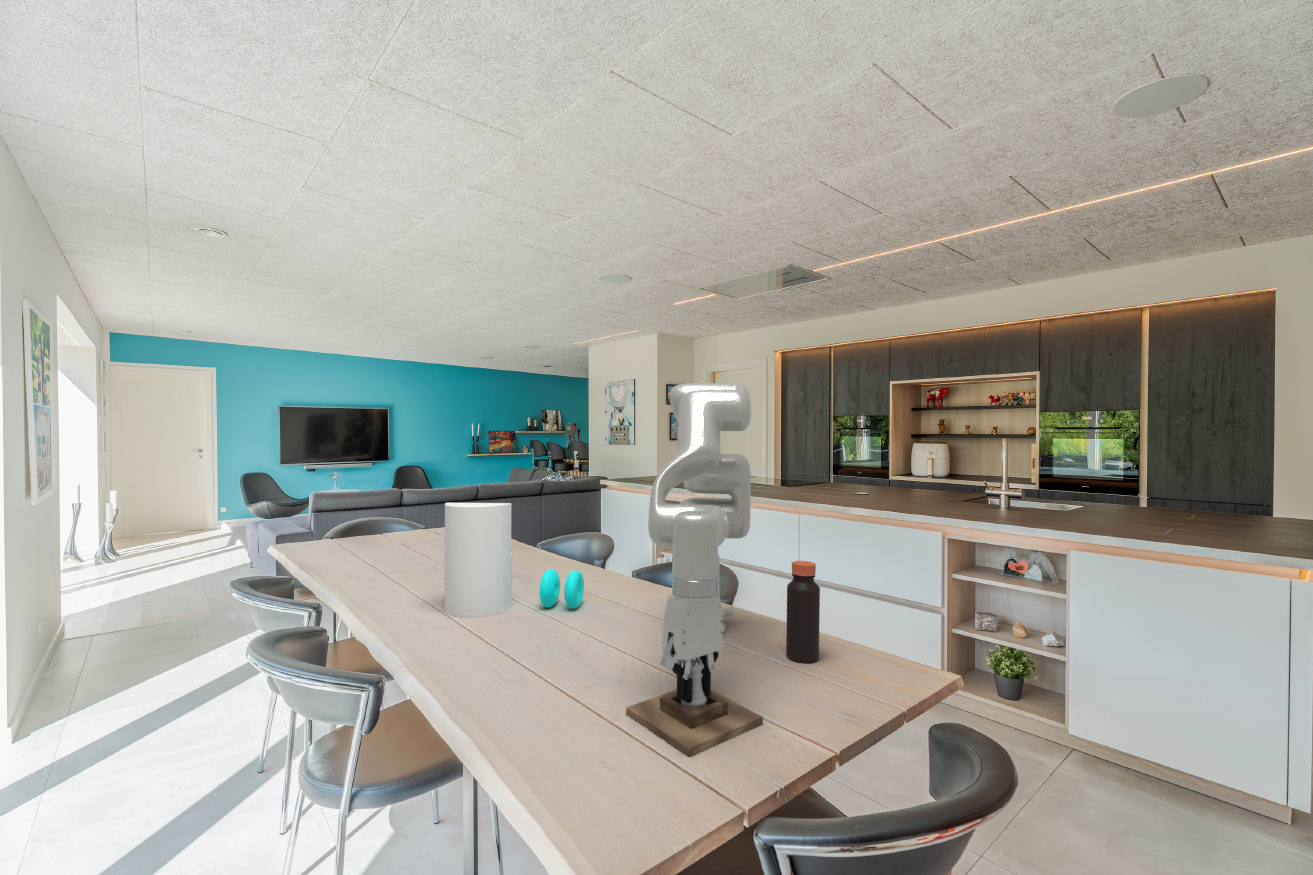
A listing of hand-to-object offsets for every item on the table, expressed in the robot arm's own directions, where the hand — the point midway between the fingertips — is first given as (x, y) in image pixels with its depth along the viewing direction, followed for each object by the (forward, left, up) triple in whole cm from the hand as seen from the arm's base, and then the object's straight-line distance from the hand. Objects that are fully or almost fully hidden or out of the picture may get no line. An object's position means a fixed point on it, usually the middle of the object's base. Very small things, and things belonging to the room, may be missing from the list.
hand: (693, 695), depth 97 cm
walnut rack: (0, 0, -4) cm, 4 cm away
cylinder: (+6, -80, -4) cm, 80 cm away
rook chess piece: (0, 0, -2) cm, 2 cm away
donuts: (-12, -67, -4) cm, 68 cm away
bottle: (-36, -6, -4) cm, 37 cm away
